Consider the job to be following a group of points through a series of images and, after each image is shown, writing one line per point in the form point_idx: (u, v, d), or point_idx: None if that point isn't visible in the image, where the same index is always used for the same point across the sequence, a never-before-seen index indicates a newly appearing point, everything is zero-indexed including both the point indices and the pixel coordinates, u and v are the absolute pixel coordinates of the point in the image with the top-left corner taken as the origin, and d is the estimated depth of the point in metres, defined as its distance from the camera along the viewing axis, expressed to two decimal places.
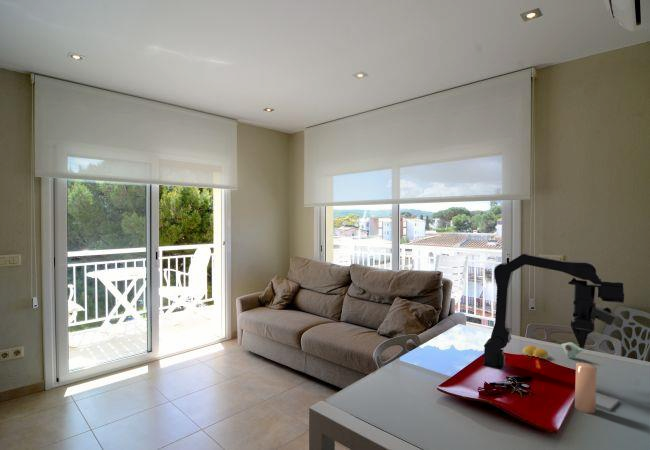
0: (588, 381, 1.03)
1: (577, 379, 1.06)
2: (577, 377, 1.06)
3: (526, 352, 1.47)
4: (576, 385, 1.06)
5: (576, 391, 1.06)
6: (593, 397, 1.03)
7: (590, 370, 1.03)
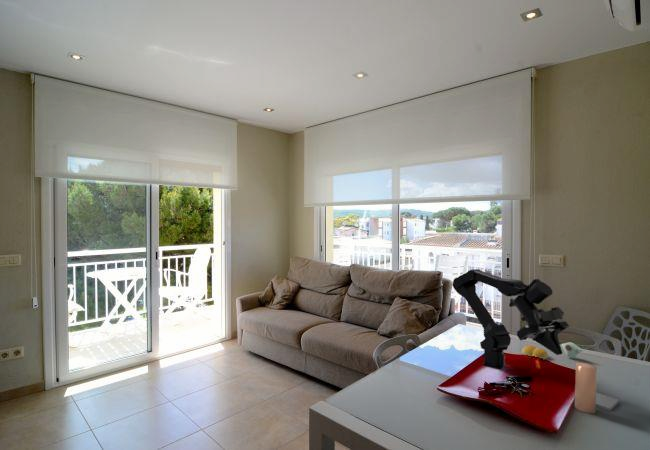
0: (588, 381, 1.03)
1: (577, 379, 1.06)
2: (577, 377, 1.06)
3: (526, 352, 1.47)
4: (576, 385, 1.06)
5: (576, 391, 1.06)
6: (593, 397, 1.03)
7: (590, 370, 1.03)
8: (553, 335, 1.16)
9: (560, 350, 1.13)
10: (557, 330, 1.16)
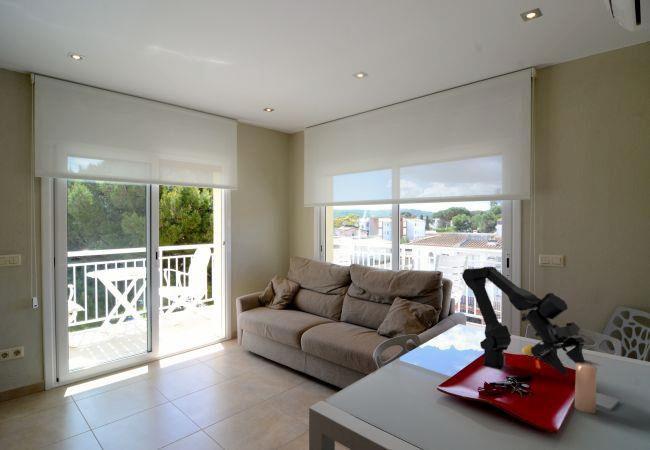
0: (588, 381, 1.03)
1: (577, 379, 1.06)
2: (577, 377, 1.06)
3: (525, 352, 1.47)
4: (576, 385, 1.06)
5: (576, 391, 1.06)
6: (593, 397, 1.03)
7: (590, 370, 1.03)
8: (577, 350, 1.13)
9: None
10: (581, 345, 1.13)
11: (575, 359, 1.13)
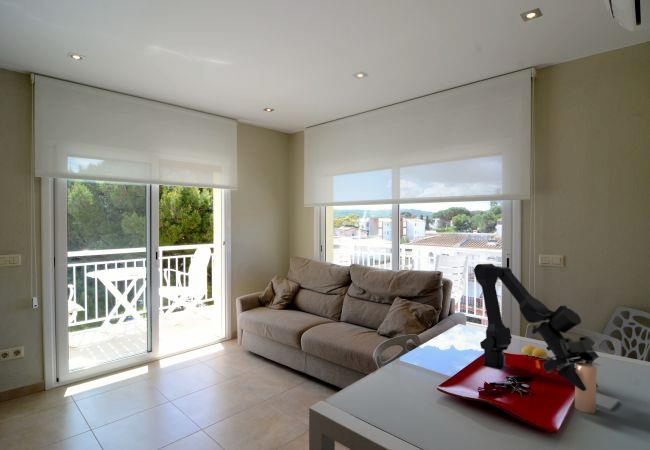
0: (588, 381, 1.03)
1: None
2: None
3: (525, 352, 1.47)
4: None
5: (576, 391, 1.06)
6: (593, 397, 1.03)
7: (590, 370, 1.03)
8: None
9: None
10: (591, 361, 1.08)
11: None
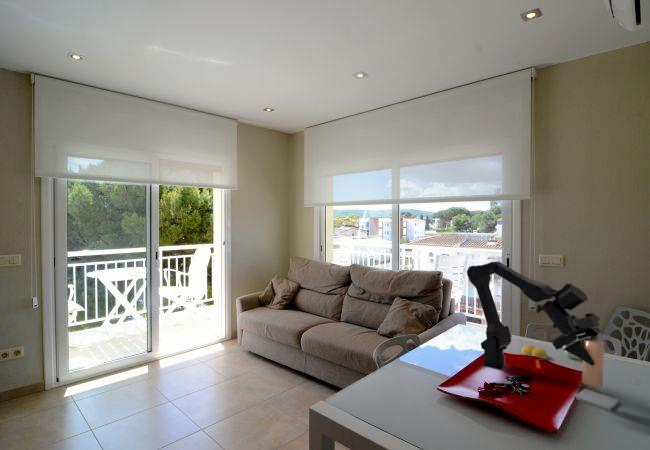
0: (597, 355, 1.05)
1: None
2: None
3: (525, 352, 1.47)
4: None
5: (584, 366, 1.08)
6: (601, 371, 1.06)
7: (599, 345, 1.05)
8: None
9: None
10: (596, 336, 1.11)
11: None
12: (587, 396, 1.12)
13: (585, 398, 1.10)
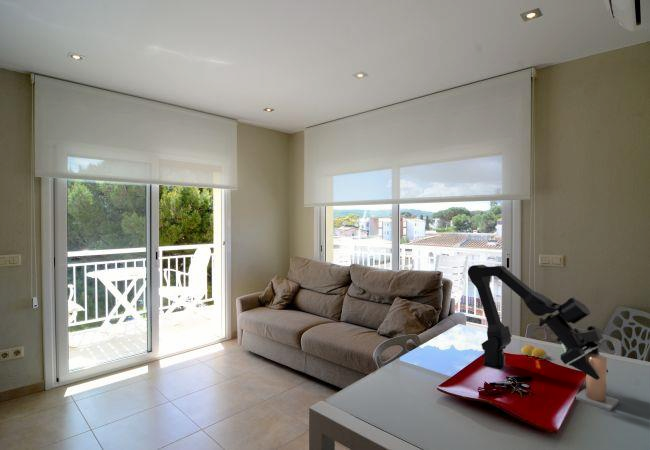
0: (601, 371, 1.08)
1: None
2: None
3: (524, 352, 1.47)
4: (589, 376, 1.10)
5: (589, 382, 1.11)
6: (605, 386, 1.09)
7: (603, 361, 1.08)
8: (596, 353, 1.15)
9: None
10: (599, 348, 1.15)
11: None
12: None
13: (585, 398, 1.10)
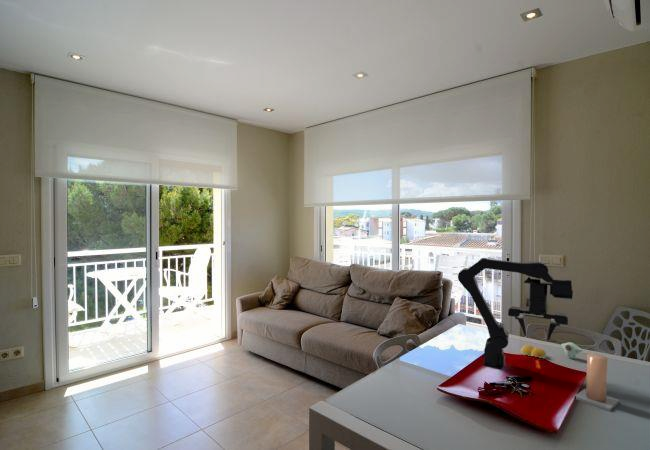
0: (602, 371, 1.08)
1: (590, 371, 1.10)
2: (590, 368, 1.10)
3: (524, 352, 1.47)
4: (590, 376, 1.10)
5: (589, 382, 1.11)
6: (605, 386, 1.09)
7: (603, 361, 1.08)
8: (525, 320, 1.34)
9: (526, 333, 1.33)
10: None
11: (525, 326, 1.32)
12: None
13: (585, 398, 1.10)
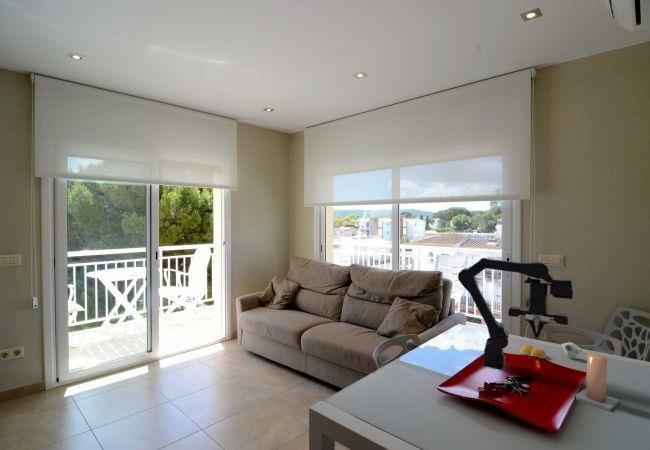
0: (602, 371, 1.08)
1: (590, 371, 1.10)
2: (590, 368, 1.10)
3: (524, 352, 1.47)
4: (590, 376, 1.10)
5: (589, 382, 1.11)
6: (605, 386, 1.09)
7: (603, 361, 1.08)
8: (535, 321, 1.32)
9: None
10: None
11: (535, 328, 1.30)
12: None
13: (585, 398, 1.10)
